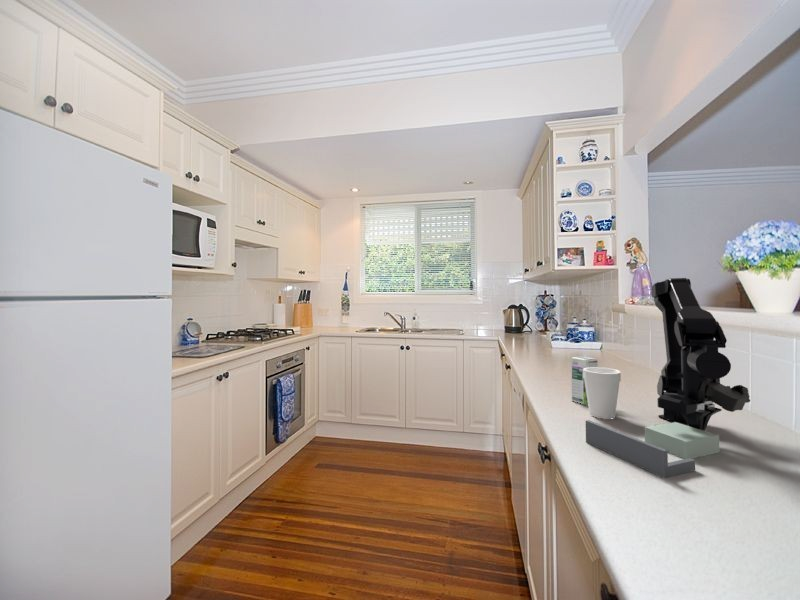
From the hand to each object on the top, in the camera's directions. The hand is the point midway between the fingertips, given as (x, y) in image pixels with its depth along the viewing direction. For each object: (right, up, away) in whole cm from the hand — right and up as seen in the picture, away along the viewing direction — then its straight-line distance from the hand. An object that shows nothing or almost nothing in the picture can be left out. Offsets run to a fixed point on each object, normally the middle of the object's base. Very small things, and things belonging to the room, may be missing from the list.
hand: (698, 437), depth 82 cm
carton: (-6, -2, -3) cm, 7 cm away
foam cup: (-11, -2, +20) cm, 23 cm away
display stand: (-19, -1, -6) cm, 20 cm away
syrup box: (-9, -2, +33) cm, 34 cm away
